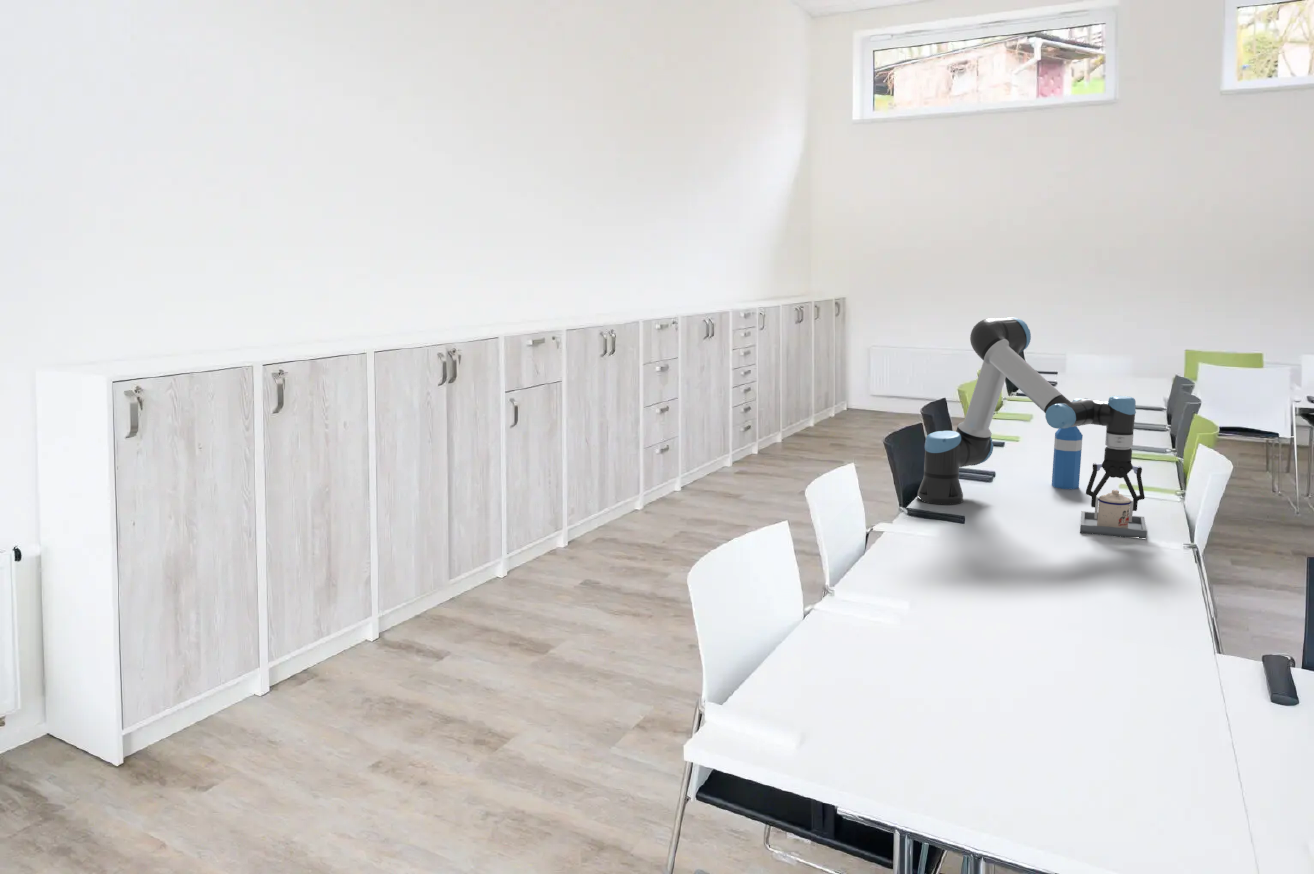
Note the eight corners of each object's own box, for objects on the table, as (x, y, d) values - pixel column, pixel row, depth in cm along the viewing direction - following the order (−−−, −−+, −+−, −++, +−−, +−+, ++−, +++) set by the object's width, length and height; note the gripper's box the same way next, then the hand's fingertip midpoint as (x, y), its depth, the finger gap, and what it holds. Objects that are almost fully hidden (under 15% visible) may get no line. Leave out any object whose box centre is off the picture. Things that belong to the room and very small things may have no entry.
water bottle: (1081, 485, 360) (1085, 418, 355) (1076, 490, 352) (1081, 421, 348) (1054, 482, 365) (1058, 416, 360) (1049, 487, 357) (1053, 419, 352)
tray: (1079, 533, 297) (1080, 524, 296) (1080, 518, 313) (1081, 511, 312) (1146, 539, 289) (1146, 531, 289) (1143, 524, 306) (1144, 516, 305)
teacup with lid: (1124, 533, 293) (1127, 495, 291) (1092, 527, 299) (1095, 490, 297) (1134, 524, 302) (1138, 488, 300) (1103, 520, 308) (1106, 483, 306)
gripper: (1079, 446, 298) (1074, 518, 301) (1159, 452, 289) (1152, 525, 293) (1079, 442, 304) (1074, 512, 308) (1157, 447, 296) (1151, 519, 300)
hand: (1112, 519), depth 301 cm, fingers closed on teacup with lid, 9 cm apart
